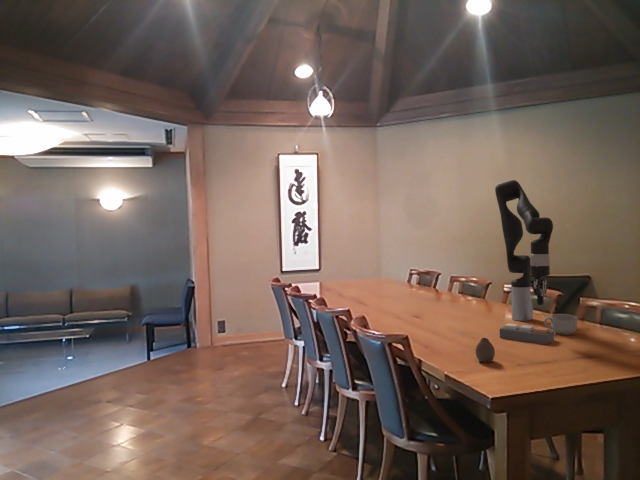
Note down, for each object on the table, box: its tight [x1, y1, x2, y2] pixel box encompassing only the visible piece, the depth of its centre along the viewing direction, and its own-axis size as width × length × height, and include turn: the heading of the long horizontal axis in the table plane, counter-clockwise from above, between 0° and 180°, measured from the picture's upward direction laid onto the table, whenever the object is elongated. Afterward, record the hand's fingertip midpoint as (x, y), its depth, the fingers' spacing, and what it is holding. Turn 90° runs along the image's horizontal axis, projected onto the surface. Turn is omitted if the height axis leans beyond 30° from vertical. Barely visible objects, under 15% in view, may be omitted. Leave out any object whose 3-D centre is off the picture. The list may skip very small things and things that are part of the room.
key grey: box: [519, 324, 535, 332], centre depth 212 cm, size 5×5×2 cm
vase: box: [475, 337, 496, 364], centre depth 183 cm, size 7×7×9 cm
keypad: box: [499, 326, 555, 345], centre depth 212 cm, size 20×8×4 cm, turn 46°
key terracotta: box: [534, 326, 550, 334], centre depth 207 cm, size 5×5×2 cm
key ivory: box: [503, 323, 520, 330], centre depth 216 cm, size 5×5×2 cm
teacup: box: [543, 313, 578, 336], centre depth 219 cm, size 14×11×8 cm
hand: (540, 304), depth 207 cm, fingers closed
